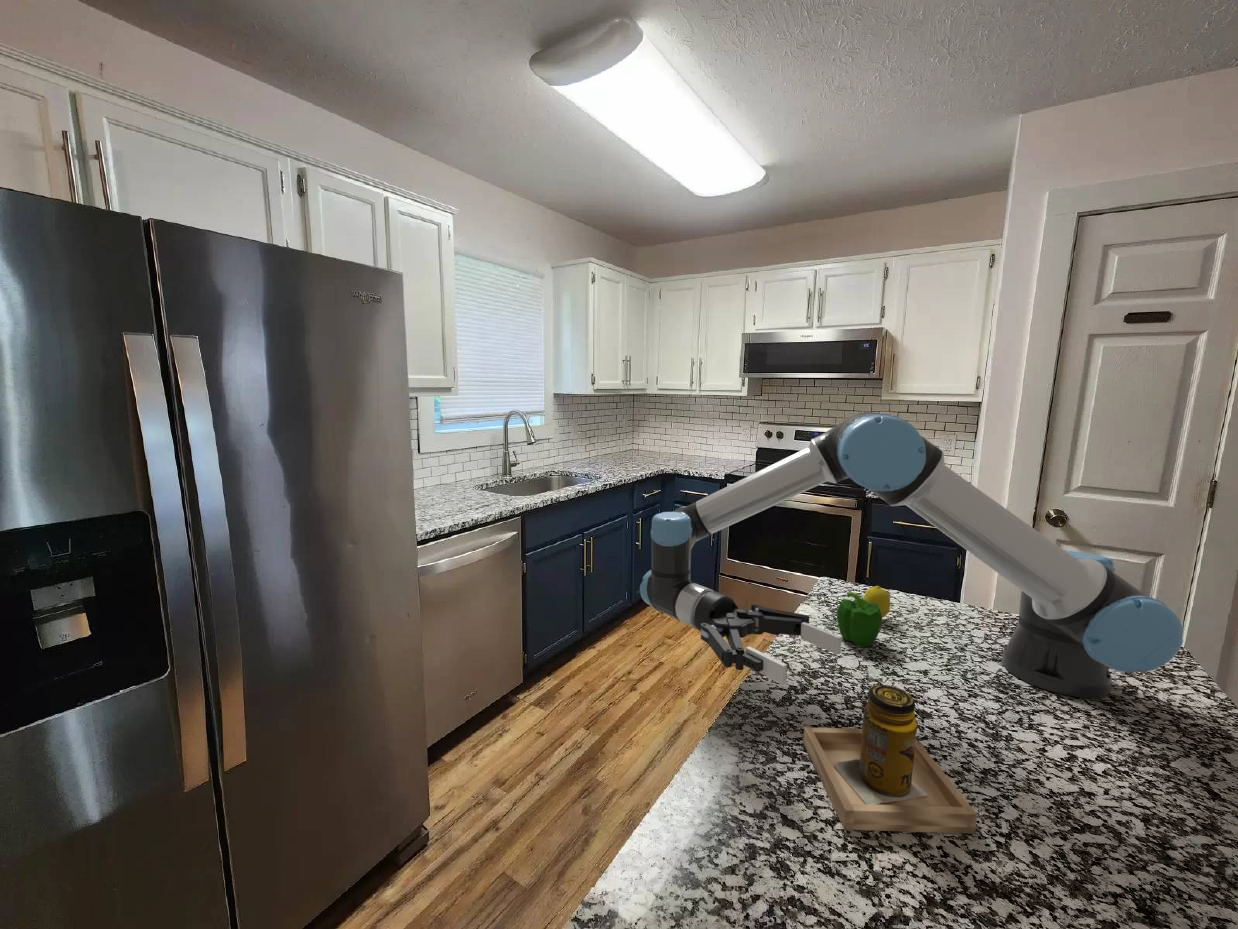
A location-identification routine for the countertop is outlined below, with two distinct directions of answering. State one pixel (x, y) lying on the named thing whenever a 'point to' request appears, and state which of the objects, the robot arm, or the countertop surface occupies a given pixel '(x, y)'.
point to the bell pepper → (859, 620)
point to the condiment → (885, 749)
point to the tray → (920, 814)
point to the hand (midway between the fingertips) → (814, 659)
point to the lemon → (878, 599)
